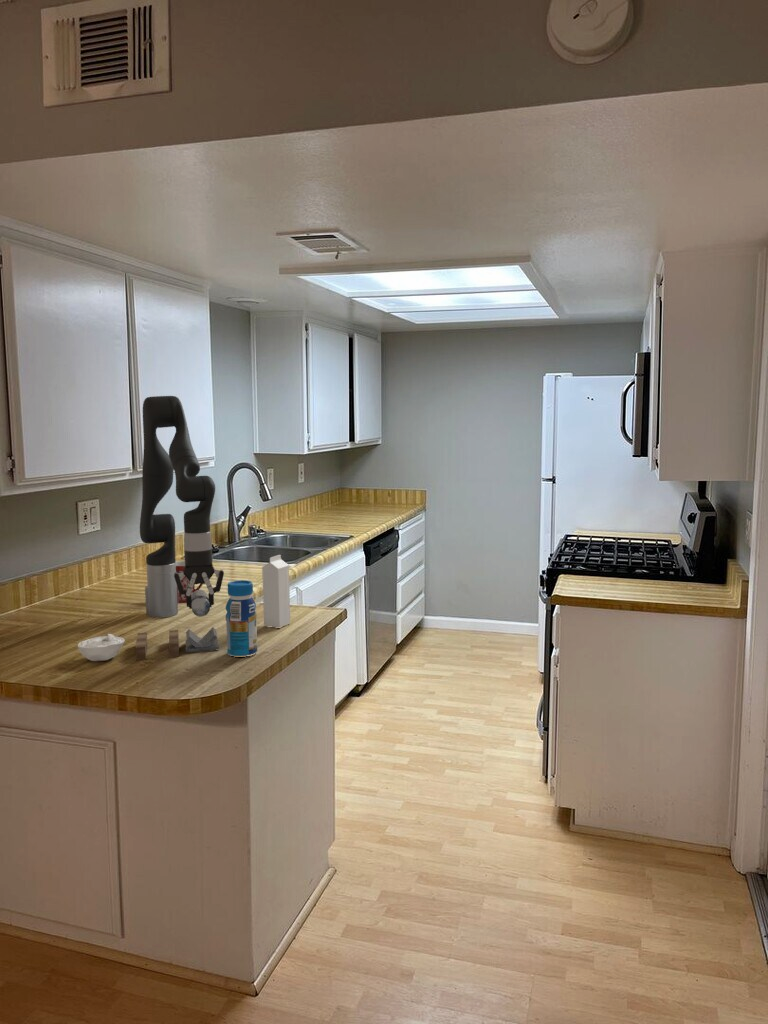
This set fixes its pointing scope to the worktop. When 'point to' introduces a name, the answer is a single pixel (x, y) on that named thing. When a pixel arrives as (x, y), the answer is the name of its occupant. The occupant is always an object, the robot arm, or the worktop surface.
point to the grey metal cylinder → (200, 603)
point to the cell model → (101, 647)
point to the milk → (276, 592)
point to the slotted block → (142, 645)
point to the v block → (201, 641)
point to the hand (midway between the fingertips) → (200, 607)
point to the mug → (183, 582)
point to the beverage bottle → (241, 619)
